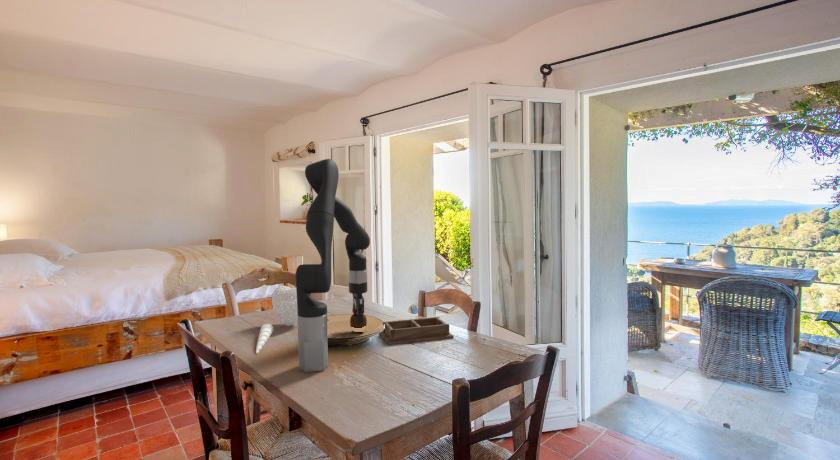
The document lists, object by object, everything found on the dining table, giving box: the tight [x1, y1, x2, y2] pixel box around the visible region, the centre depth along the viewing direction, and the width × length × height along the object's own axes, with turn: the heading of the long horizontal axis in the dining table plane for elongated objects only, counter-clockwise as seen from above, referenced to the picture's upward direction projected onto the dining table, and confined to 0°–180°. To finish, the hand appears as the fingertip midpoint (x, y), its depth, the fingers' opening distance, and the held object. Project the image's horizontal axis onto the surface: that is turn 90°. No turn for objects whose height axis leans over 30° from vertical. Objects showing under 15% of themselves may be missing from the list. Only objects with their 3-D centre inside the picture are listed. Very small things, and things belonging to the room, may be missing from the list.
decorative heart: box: [271, 285, 298, 328], centre depth 178 cm, size 18×11×17 cm, turn 57°
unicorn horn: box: [255, 323, 274, 354], centre depth 155 cm, size 5×24×5 cm, turn 8°
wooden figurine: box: [349, 295, 368, 328], centre depth 169 cm, size 7×6×15 cm
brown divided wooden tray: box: [379, 316, 455, 346], centre depth 164 cm, size 16×26×5 cm, turn 108°
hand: (358, 320), depth 169 cm, fingers closed on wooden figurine, 7 cm apart
